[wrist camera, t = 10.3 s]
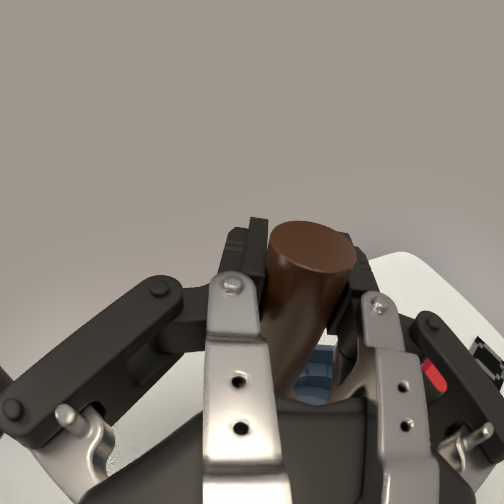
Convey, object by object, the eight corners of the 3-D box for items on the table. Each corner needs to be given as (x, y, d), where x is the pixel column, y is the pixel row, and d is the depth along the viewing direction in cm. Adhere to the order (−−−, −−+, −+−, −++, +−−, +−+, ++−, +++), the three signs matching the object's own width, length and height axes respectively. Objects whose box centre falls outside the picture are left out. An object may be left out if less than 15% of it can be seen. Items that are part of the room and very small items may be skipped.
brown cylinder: (209, 441, 13) (216, 287, 6) (220, 375, 17) (240, 195, 10) (291, 449, 13) (412, 311, 6) (291, 384, 17) (367, 218, 10)
